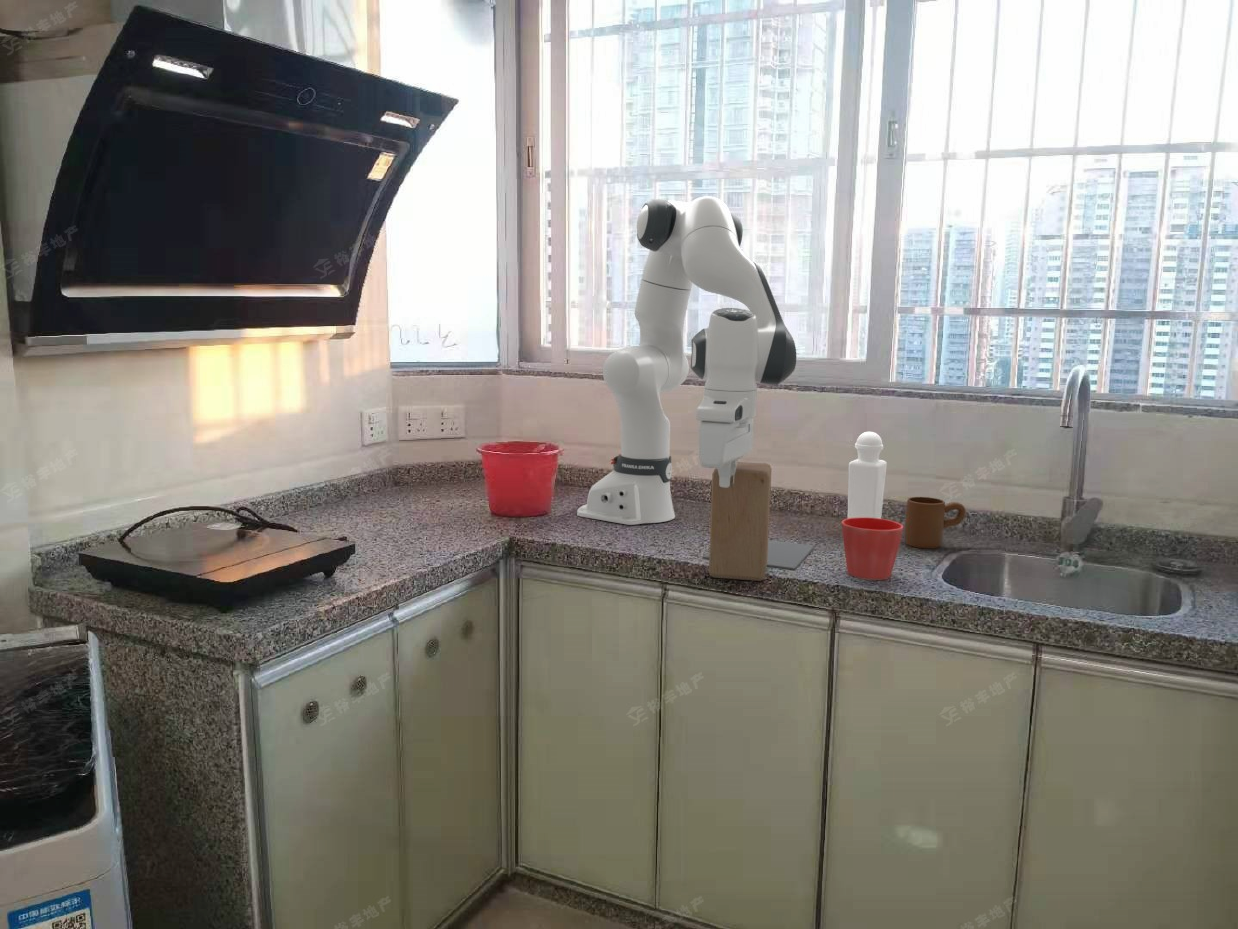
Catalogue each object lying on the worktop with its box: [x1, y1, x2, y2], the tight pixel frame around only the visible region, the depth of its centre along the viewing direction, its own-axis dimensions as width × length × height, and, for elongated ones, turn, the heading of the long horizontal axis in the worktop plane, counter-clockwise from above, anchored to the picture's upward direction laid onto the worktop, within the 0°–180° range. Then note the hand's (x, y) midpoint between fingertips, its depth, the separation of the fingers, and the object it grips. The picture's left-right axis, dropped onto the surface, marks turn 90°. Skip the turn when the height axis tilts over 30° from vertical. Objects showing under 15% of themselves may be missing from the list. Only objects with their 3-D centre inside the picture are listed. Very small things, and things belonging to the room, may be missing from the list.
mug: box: [903, 496, 967, 550], centre depth 196 cm, size 12×8×9 cm, turn 87°
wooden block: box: [708, 461, 772, 582], centre depth 172 cm, size 10×10×20 cm
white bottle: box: [847, 431, 888, 519], centre depth 205 cm, size 6×6×22 cm
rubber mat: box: [702, 539, 815, 571], centre depth 188 cm, size 18×18×1 cm
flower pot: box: [841, 517, 905, 581], centre depth 174 cm, size 11×11×10 cm
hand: (726, 486), depth 163 cm, fingers closed
